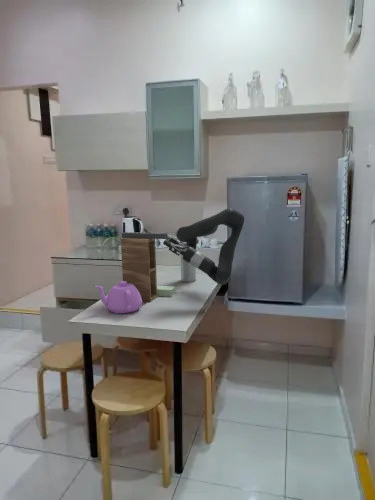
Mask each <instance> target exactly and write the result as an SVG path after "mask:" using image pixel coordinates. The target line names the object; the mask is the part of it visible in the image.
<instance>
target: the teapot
mask: <svg viewBox="0 0 375 500" xmlns="http://www.w3.org/2000/svg"><path fill="white" fill-rule="evenodd" d="M94 286H95V287H96V288H98V290H99V295H100V296H99V297H100V300H101V302H102V303H103V305H105V306H106V308H107V309H108V310H109V311H110V312H111V313H114V314H130V313H133V312H136V311H138V310H139V309H140V308H141V306H142V305H143V301H142V298H141V295H140V293H139V291H138V290H137V288H136V287H135V286H134V285H133V284H128V283H127V282H126V281H123V280H121V281H119V282H118V283H117V284H114V285H113V286H112V287H111V288H110V290H109V292H108V293H107V296H106V295H105V291H104V287H103V286H101V285H94Z"/></svg>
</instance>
